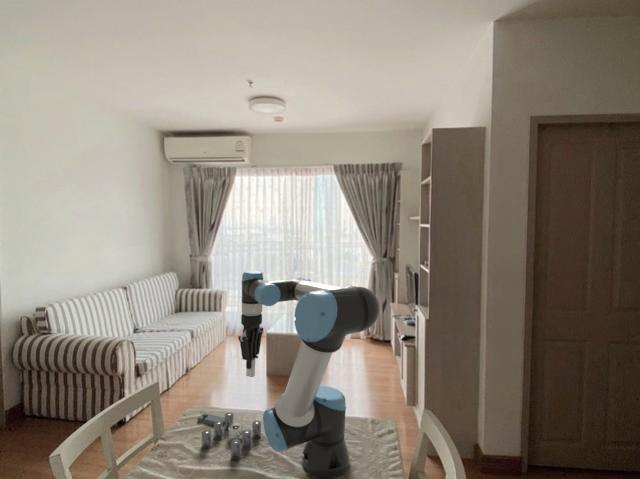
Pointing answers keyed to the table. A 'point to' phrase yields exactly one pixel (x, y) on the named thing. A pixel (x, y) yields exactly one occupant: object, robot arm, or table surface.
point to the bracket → (210, 419)
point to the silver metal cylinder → (235, 432)
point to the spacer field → (235, 443)
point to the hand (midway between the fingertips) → (250, 375)
